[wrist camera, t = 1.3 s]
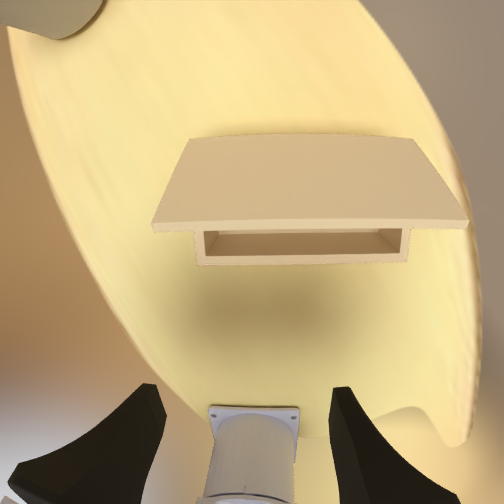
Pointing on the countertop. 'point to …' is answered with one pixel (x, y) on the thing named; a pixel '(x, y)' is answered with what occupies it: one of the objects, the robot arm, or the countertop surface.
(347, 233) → the carton
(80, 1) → the beverage can
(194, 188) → the flap
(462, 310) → the countertop surface
